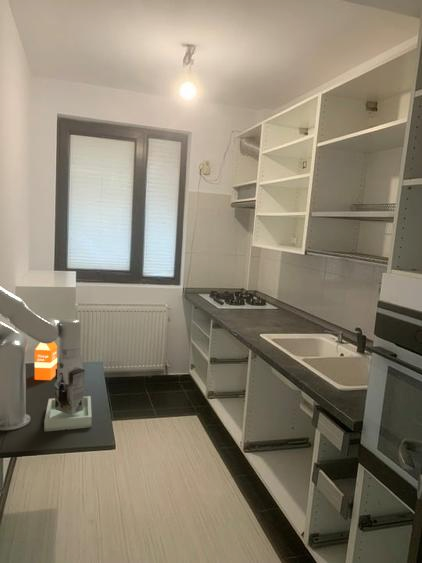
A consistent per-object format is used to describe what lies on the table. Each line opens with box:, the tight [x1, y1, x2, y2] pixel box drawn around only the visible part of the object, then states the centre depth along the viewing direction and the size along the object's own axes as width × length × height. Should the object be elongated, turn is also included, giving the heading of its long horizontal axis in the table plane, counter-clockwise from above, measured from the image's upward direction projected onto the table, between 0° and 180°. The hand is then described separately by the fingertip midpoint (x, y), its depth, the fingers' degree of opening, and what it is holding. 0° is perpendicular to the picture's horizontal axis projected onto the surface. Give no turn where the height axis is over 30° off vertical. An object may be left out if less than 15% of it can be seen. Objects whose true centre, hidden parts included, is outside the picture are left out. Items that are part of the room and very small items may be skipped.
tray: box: [43, 395, 93, 432], centre depth 155 cm, size 20×16×4 cm
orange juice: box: [34, 341, 58, 381], centre depth 197 cm, size 8×9×20 cm
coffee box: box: [54, 367, 85, 415], centre depth 155 cm, size 9×6×16 cm
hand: (69, 397), depth 155 cm, fingers closed on coffee box, 7 cm apart
